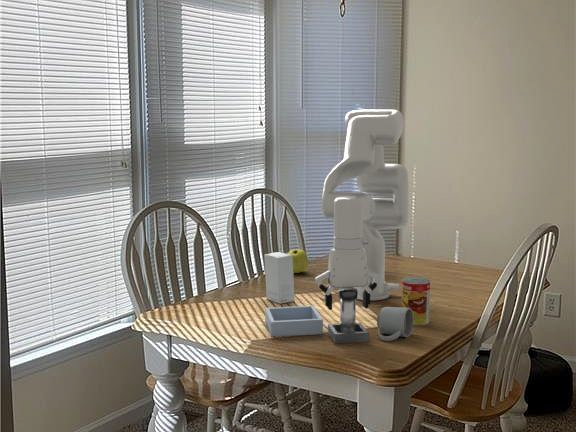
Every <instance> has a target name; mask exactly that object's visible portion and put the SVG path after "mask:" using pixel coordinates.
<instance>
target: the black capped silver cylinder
mask: <svg viewBox="0 0 576 432" xmlns="http://www.w3.org/2000/svg"><path fill="white" fill-rule="evenodd" d="M338 298H339V299H340V302H339V303H340V304H339V305H340V309H339V310H340V311H339V312H340V317H339V318H340V319H339V320H340V322H339V324H340V333H347V332H355V330H356V323H357V322H356V321H357V320H356V312H357V310H356V309H357V307H356V306H357V305H356V303H357V299H356V298H358V289H356V288H355V287H349V288H338Z"/></svg>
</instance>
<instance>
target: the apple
mask: <svg viewBox="0 0 576 432" xmlns="http://www.w3.org/2000/svg"><path fill="white" fill-rule="evenodd" d="M286 254H290V255H292V259H293V274H297V273H298V274H300V273H302V272H304V271H306V270H307V269H308V267H309V266H308V265H309V261H308V255H307V253H306V252H305V250H303V249H299V248H294V249H291V250H290V251H288V252H287V253H286Z"/></svg>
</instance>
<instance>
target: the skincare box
mask: <svg viewBox="0 0 576 432" xmlns="http://www.w3.org/2000/svg"><path fill="white" fill-rule="evenodd" d="M263 256H264V274H265V277H264V278H265V293H266V300H268V301H271V302H274V303H277V304H285V303H292V302H295V301H296V299H295V298H296V297H295V281H294V273H293V259H292V255H290V254H287V253H285V252H280V251H277V252H276V251H275V252H270V253H265V254H264V255H263Z"/></svg>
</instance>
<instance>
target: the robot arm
mask: <svg viewBox="0 0 576 432" xmlns="http://www.w3.org/2000/svg"><path fill="white" fill-rule="evenodd" d="M344 123H345V128H346V137H345V144H344V150H343V151H344V152H343V160H341V161H340V162H339V163H337V165H335V166H334V167H333V168H332V169H331V170H330V172H329V173H328V174H327V176H326V178H325V180H324V181H323V182H324V183H323V186H322V194H321V201H320V212H321V215H322V217H324V218H325V219H326V220H329V221H333V247H331V248H330V250H329V255H328V264H327V270H326V271H325V272H322V274H319V275H317V276H316V277H314V280H315V283H316V284H317V286H318V288H319V289H320V290H321V291H322V292H323V293H324V295H325V296H324V297H325V299H324V302H325V307H327V309H328V311H333V295H332V292H333V291H334V290H335V289H340V288H349V287H351V288H356V289H358V298H356V300H360V301H362V306H363V308H365V309H369V305H371V301H381V300H385V299H388V298H389V297H390V291H391V290H393V291H398V290H399V291H400V284H399V283H394V282H387V281H385V280H386V279H385V276H386V275H385V274H386V272H385V270H386V269H385V266H386V259H385V258H386V242H385V239H384V237H383V236H382V234H381V232H380V231H379V230H378V229H387V230H388V229H393V230H397V229H399V230H400V229H404V228H405V227H407V225H408V221H409V174H408V170H407V168H406V166H405V165H403V164H399V163H386V162H385V155H384V153H385V150H384V145H385V146H390V145H391V146H393V145H395V144H397V143H398V142H399V140H400V138H401V136H402V134H403V130H404V126H405V125H404V124H405V123H404V116H403V114H402V112H401V111H400V110H398V109H356V110H351V111H349V112H347V113H346V114H345V118H344ZM353 178H356V187H357V191H359V192H347V191H346V192H340V191H339V192H338V191H336V190H337V188H338V187H339V186H340V185H341V184H343V183H344V182H347V181H349V180H351V179H352V180H353ZM372 195H391V196H392V197H393V198H391V197H390V198H389V197H388V198H387V197H372ZM326 279H327V283H328V284H327V285H326V286H325V285H324V284H323V281H324V280H326Z"/></svg>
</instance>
